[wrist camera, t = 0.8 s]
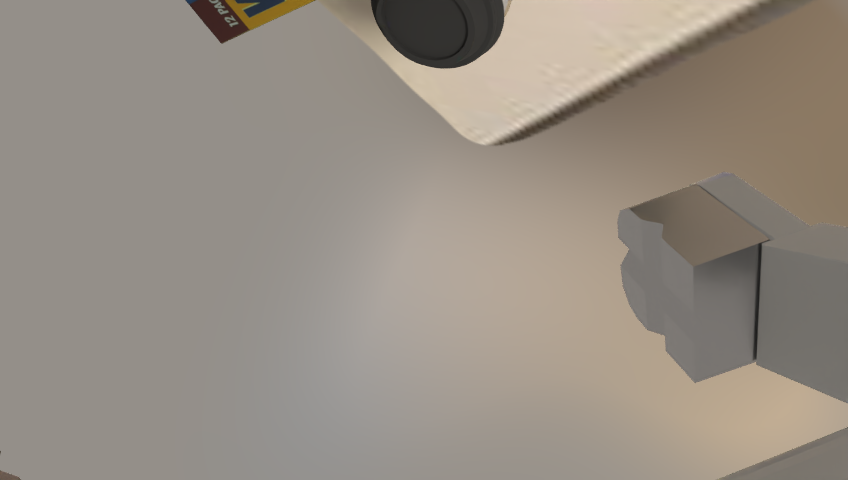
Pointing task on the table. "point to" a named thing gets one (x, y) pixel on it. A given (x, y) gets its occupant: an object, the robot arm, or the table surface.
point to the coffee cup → (441, 28)
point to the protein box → (241, 14)
